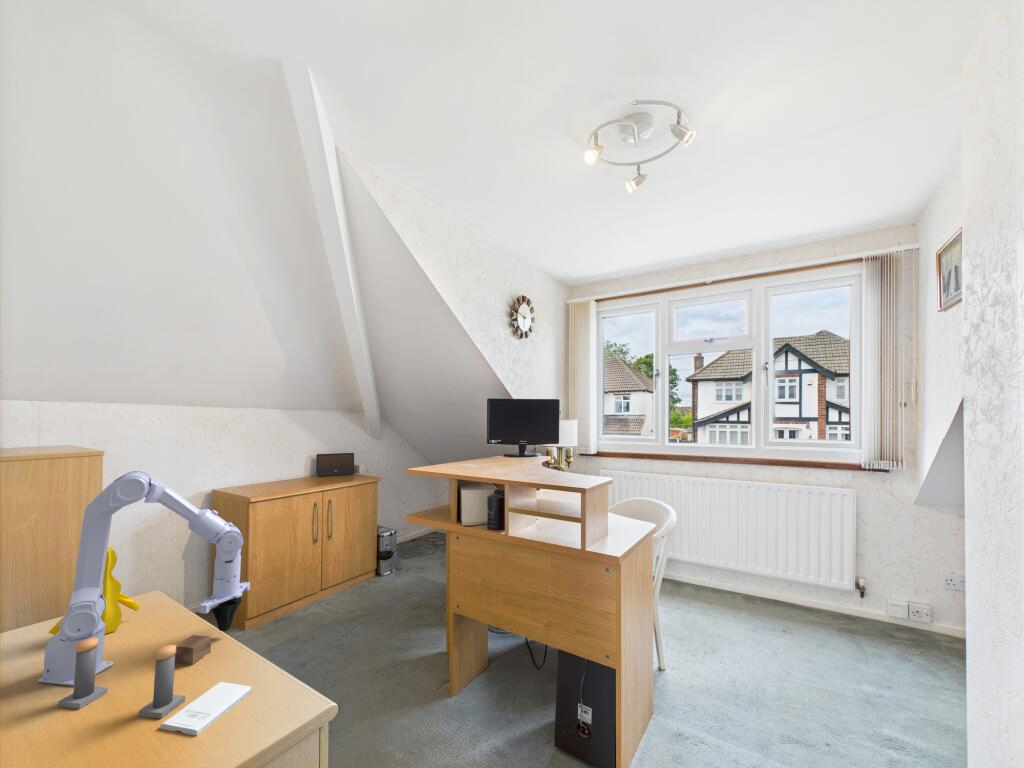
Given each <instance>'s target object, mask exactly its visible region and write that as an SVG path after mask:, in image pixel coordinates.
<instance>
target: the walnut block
mask: <svg viewBox="0 0 1024 768" xmlns="http://www.w3.org/2000/svg"><path fill="white" fill-rule="evenodd" d="M175 645H176V654H175V665H183V666H185V665H186V666H194V665H195V664H196V662H197V663H198V662H200V661H201V660H203V659H204V658H205V657H204V656H205V655H207V654H209V653H210V654H211V649H212V648H211V647H212V636H209V635H208V636H207V635H197V634H196V635H195V634H192V635H190V636H189V637H186V638H185V639H184V640H182V641H181V642H178V643H177V644H175ZM210 654H209V655H210ZM207 656H208V655H207ZM203 657H204V658H203ZM202 658H203V659H202ZM200 659H201V660H200ZM199 660H200V661H199Z"/></svg>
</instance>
